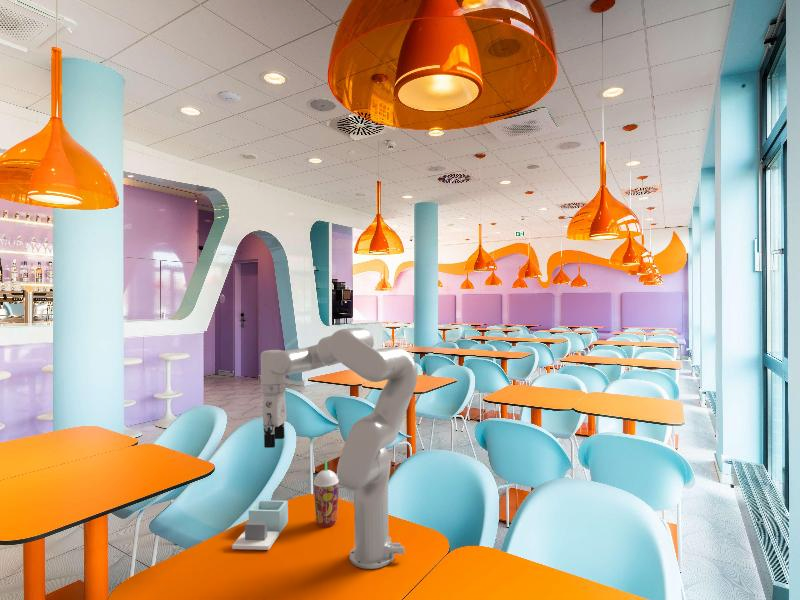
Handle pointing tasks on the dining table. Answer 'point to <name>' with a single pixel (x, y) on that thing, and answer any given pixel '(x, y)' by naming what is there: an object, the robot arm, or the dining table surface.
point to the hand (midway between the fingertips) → (274, 442)
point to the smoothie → (326, 497)
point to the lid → (256, 537)
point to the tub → (270, 514)
